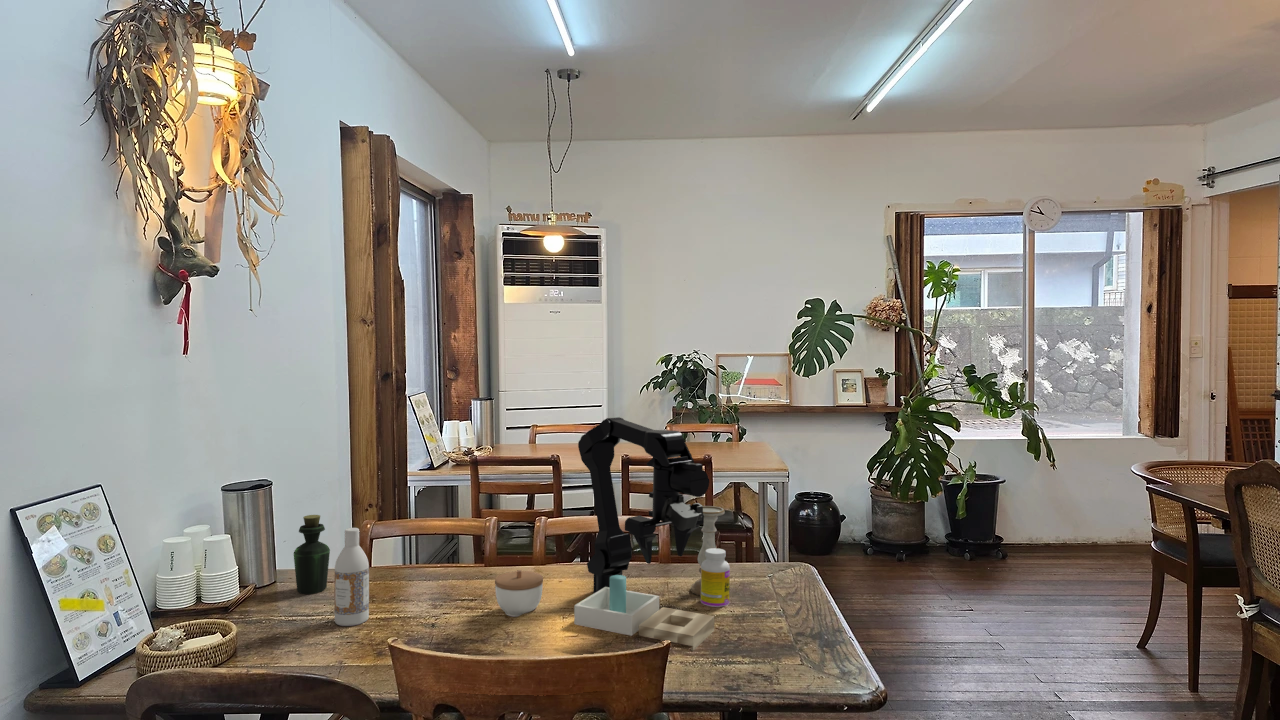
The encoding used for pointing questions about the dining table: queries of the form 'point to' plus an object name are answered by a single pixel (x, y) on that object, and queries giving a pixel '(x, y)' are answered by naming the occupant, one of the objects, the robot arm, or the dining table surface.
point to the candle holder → (707, 538)
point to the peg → (617, 593)
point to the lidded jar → (518, 591)
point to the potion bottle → (311, 558)
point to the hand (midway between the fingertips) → (664, 559)
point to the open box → (600, 617)
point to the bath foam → (351, 582)
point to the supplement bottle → (715, 578)
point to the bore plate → (689, 634)
